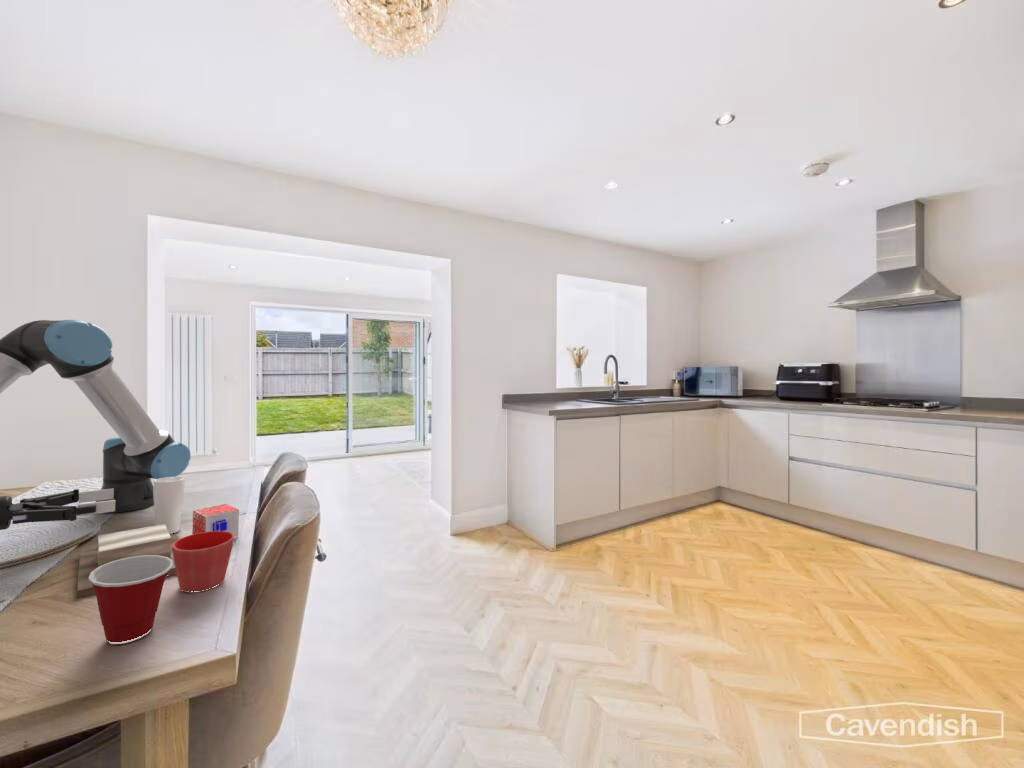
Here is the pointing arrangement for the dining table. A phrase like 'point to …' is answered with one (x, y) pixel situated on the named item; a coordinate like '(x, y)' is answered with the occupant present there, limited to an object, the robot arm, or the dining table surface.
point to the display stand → (124, 551)
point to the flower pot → (202, 559)
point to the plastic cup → (129, 594)
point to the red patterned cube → (216, 519)
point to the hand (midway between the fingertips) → (114, 499)
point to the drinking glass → (169, 502)
